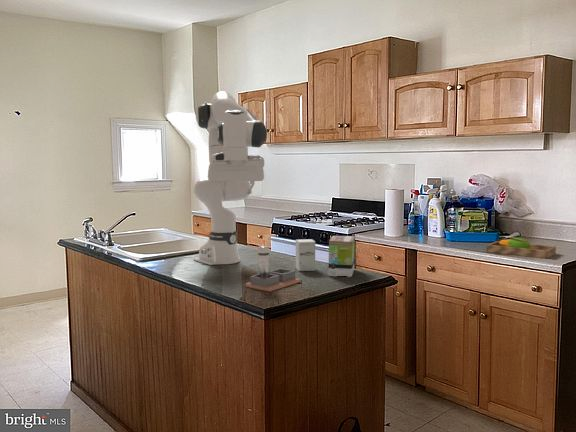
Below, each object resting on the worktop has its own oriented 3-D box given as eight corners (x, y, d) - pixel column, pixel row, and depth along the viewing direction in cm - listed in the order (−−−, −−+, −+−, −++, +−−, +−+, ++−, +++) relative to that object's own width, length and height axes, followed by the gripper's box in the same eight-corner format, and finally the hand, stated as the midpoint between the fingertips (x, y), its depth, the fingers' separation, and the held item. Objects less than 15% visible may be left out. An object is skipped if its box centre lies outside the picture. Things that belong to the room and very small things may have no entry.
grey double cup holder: (245, 286, 202) (245, 275, 202) (276, 277, 216) (276, 267, 216) (269, 291, 195) (269, 280, 194) (300, 282, 209) (300, 271, 208)
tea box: (352, 277, 216) (353, 241, 214) (327, 276, 217) (327, 240, 216) (354, 269, 230) (354, 235, 229) (331, 268, 232) (331, 234, 230)
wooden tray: (486, 252, 267) (486, 245, 266) (496, 247, 278) (496, 241, 278) (547, 258, 249) (547, 251, 249) (555, 253, 261) (555, 246, 260)
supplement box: (298, 271, 227) (298, 242, 225) (295, 268, 234) (295, 239, 233) (315, 270, 228) (315, 241, 227) (312, 267, 235) (312, 238, 234)
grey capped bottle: (256, 284, 201) (255, 247, 199) (264, 281, 204) (263, 245, 203) (265, 285, 199) (264, 248, 197) (272, 283, 202) (271, 246, 200)
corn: (523, 240, 254) (493, 234, 273) (522, 256, 255) (492, 249, 274) (535, 240, 257) (505, 234, 276) (534, 256, 258) (503, 249, 276)
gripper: (262, 155, 198) (263, 192, 200) (206, 155, 194) (207, 194, 196) (265, 155, 192) (266, 194, 194) (207, 156, 188) (208, 195, 190)
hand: (236, 194), depth 195 cm, fingers open, 8 cm apart
